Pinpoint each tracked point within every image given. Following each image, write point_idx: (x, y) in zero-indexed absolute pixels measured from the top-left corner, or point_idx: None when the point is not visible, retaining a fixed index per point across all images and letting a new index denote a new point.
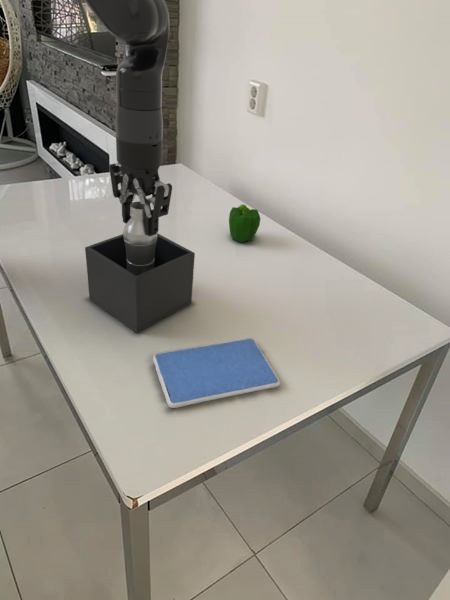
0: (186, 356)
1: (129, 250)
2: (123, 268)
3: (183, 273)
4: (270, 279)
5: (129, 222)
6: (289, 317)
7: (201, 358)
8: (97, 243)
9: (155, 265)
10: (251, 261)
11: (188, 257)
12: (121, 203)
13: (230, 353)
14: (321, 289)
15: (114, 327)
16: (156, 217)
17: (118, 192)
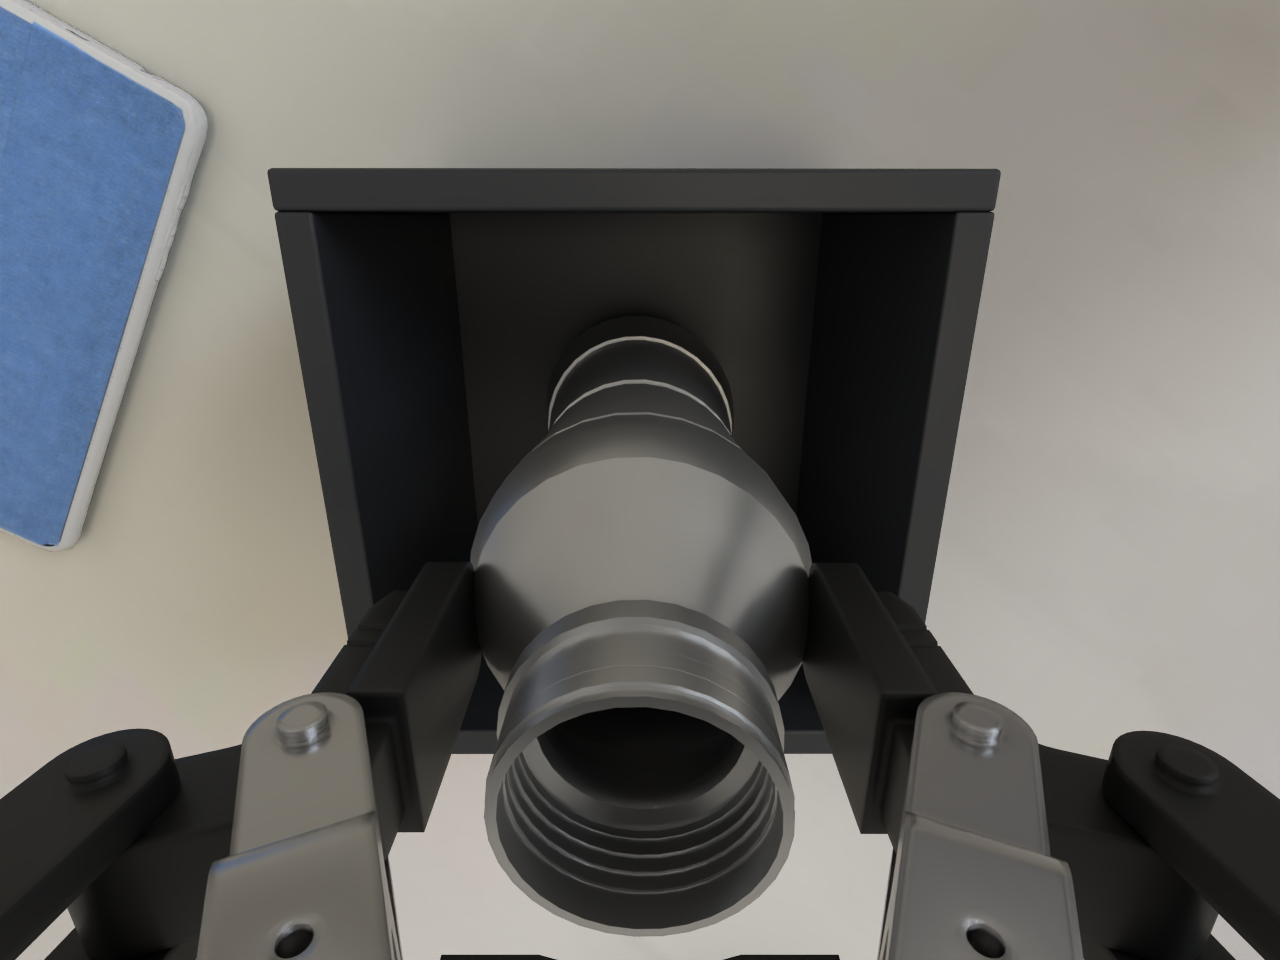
0: (92, 228)
1: (626, 401)
2: (474, 201)
3: None
4: (402, 900)
5: (690, 551)
6: None
7: (45, 274)
8: (968, 306)
9: None
10: (555, 940)
11: None
12: (959, 698)
13: (9, 402)
14: None
15: (547, 131)
16: (96, 742)
17: (1152, 837)
